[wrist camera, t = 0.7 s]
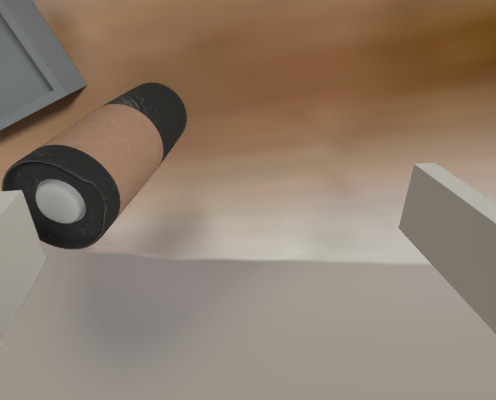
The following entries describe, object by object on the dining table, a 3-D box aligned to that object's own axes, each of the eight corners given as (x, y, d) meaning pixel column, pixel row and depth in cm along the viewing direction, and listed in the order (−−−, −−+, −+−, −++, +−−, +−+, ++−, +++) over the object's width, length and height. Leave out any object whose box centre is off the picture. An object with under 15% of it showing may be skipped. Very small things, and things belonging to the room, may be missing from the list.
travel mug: (118, 125, 43) (-5, 222, 26) (135, 66, 39) (3, 137, 22) (176, 154, 44) (93, 266, 27) (199, 100, 40) (118, 192, 23)
